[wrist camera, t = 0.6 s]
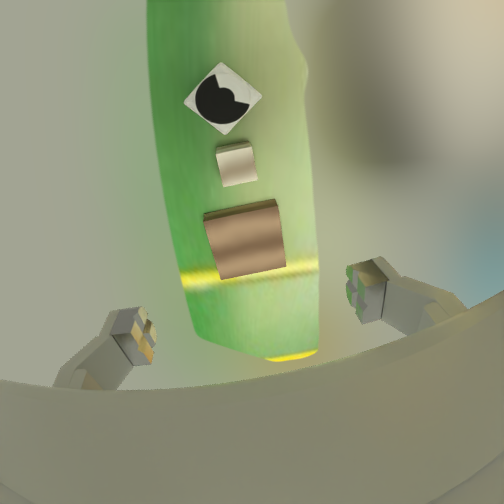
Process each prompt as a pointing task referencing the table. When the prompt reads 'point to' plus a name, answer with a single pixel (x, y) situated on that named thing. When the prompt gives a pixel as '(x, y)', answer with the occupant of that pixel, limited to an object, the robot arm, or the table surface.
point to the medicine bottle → (222, 98)
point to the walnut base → (246, 239)
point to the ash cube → (236, 163)
